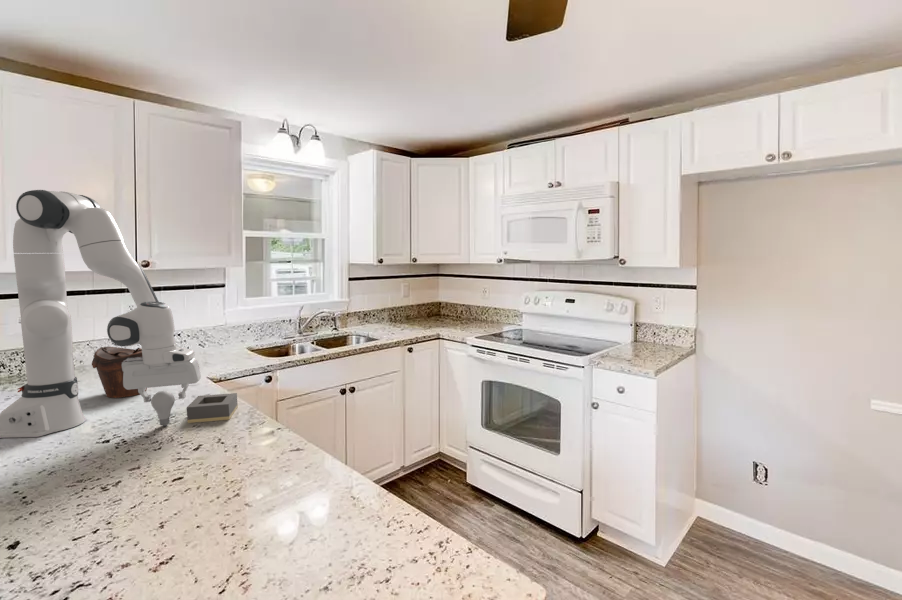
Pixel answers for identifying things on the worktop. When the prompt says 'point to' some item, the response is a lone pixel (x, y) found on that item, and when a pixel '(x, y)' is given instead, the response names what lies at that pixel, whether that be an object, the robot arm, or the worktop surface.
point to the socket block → (212, 408)
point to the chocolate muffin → (114, 369)
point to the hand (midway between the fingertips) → (165, 399)
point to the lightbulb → (163, 406)
